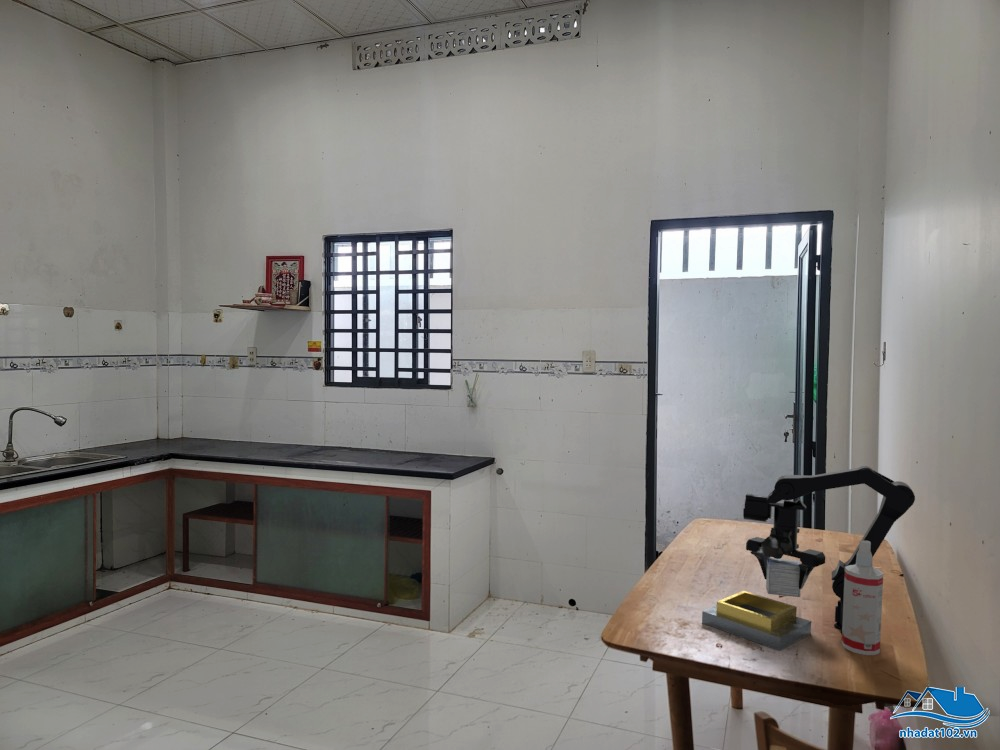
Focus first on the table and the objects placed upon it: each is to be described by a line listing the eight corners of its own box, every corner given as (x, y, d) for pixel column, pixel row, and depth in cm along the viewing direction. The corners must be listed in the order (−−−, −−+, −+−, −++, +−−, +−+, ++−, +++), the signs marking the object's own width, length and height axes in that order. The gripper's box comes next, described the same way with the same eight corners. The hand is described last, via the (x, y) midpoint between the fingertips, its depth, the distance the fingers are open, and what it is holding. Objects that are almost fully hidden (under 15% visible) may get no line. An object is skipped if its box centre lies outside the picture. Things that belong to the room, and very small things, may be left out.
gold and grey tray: (810, 633, 162) (811, 609, 162) (779, 650, 151) (780, 624, 151) (734, 608, 177) (735, 586, 177) (701, 623, 166) (702, 599, 166)
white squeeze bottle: (867, 641, 158) (872, 537, 158) (886, 655, 151) (891, 546, 150) (835, 640, 158) (839, 536, 157) (853, 654, 151) (857, 545, 150)
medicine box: (797, 592, 174) (799, 559, 174) (800, 598, 170) (801, 564, 170) (765, 589, 177) (766, 556, 176) (767, 594, 172) (768, 561, 172)
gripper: (736, 521, 175) (734, 580, 175) (807, 537, 161) (805, 601, 161) (757, 515, 182) (755, 572, 182) (827, 530, 168) (824, 591, 168)
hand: (783, 583), depth 173 cm, fingers closed on medicine box, 9 cm apart
